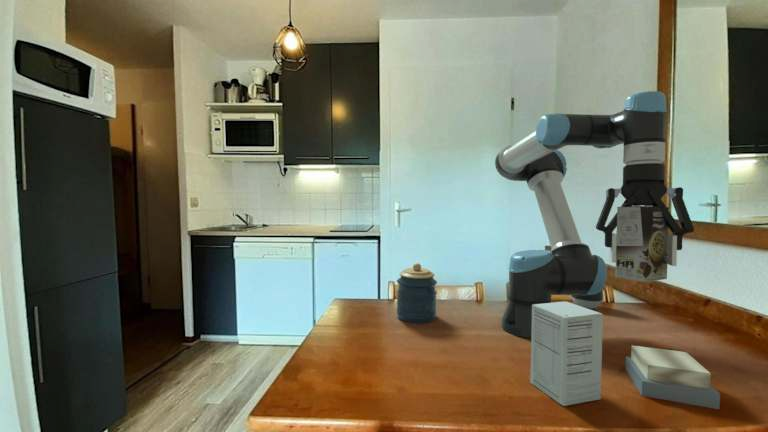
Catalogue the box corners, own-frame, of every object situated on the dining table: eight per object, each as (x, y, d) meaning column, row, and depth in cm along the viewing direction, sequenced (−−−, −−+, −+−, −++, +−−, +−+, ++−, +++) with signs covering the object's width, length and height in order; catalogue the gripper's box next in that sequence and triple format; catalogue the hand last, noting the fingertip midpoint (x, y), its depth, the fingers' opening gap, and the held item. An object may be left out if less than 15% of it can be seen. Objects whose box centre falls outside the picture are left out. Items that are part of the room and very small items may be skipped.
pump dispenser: (564, 303, 133) (565, 263, 132) (589, 302, 134) (591, 262, 133) (582, 311, 123) (583, 268, 122) (609, 310, 124) (611, 268, 123)
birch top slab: (647, 379, 70) (647, 364, 70) (630, 358, 80) (631, 345, 80) (710, 388, 67) (710, 373, 67) (685, 365, 76) (686, 352, 76)
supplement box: (602, 400, 68) (606, 313, 67) (563, 407, 65) (566, 318, 64) (564, 376, 77) (566, 300, 76) (528, 382, 74) (530, 303, 74)
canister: (444, 318, 114) (445, 264, 113) (413, 326, 106) (414, 268, 106) (418, 308, 124) (419, 258, 124) (388, 314, 117) (389, 262, 116)
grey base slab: (641, 398, 70) (642, 381, 70) (625, 371, 81) (625, 356, 81) (719, 412, 65) (720, 393, 65) (690, 381, 76) (691, 365, 76)
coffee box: (646, 282, 74) (647, 205, 74) (614, 277, 80) (615, 206, 80) (668, 279, 78) (670, 206, 78) (637, 274, 84) (638, 206, 84)
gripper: (587, 164, 79) (585, 262, 80) (717, 159, 71) (715, 269, 71) (582, 167, 86) (580, 258, 87) (700, 164, 78) (698, 264, 78)
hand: (641, 263), depth 79 cm, fingers closed on coffee box, 10 cm apart
